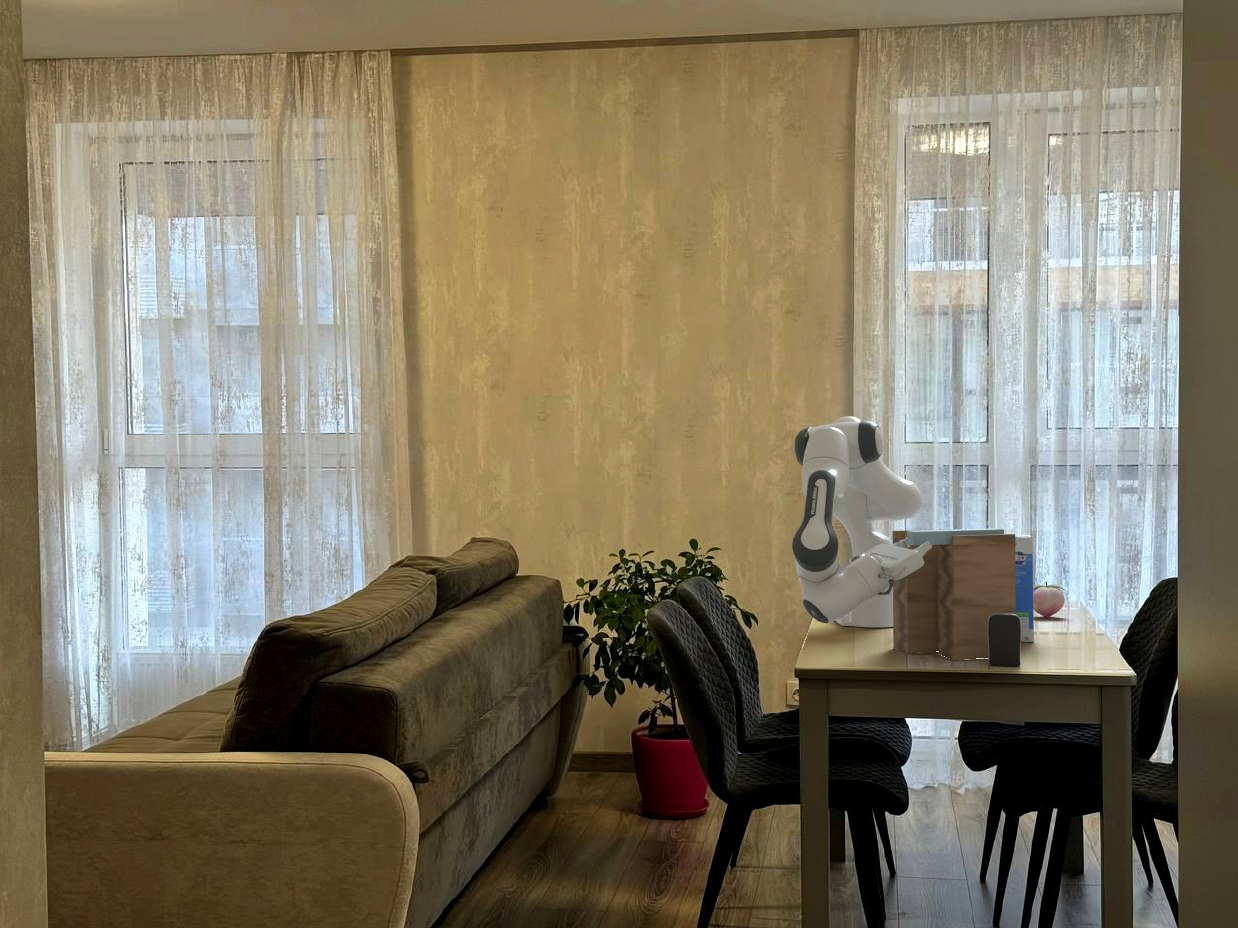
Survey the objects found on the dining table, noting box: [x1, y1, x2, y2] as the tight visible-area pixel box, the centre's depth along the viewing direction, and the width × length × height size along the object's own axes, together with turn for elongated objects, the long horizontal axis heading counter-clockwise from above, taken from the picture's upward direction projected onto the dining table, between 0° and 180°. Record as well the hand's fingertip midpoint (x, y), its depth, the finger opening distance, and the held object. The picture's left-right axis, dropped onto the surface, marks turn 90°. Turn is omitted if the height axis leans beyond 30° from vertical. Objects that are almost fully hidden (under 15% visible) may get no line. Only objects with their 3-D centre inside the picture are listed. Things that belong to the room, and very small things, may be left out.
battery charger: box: [988, 613, 1022, 667], centre depth 279 cm, size 7×4×11 cm, turn 77°
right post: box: [938, 533, 1016, 661], centre depth 290 cm, size 8×15×28 cm, turn 102°
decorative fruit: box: [1033, 581, 1066, 619], centre depth 351 cm, size 9×8×10 cm
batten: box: [907, 527, 1005, 545], centre depth 289 cm, size 4×22×3 cm, turn 102°
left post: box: [892, 528, 953, 654], centre depth 300 cm, size 8×15×28 cm, turn 102°
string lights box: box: [1015, 534, 1035, 643], centre depth 313 cm, size 13×8×26 cm, turn 80°
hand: (920, 541), depth 287 cm, fingers open, 8 cm apart
